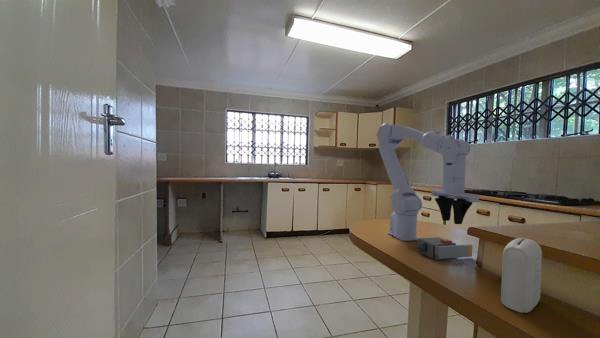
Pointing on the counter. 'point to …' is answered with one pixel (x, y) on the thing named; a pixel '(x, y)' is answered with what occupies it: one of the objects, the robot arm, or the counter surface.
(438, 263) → the counter surface
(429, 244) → the grey low box
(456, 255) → the side door
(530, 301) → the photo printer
